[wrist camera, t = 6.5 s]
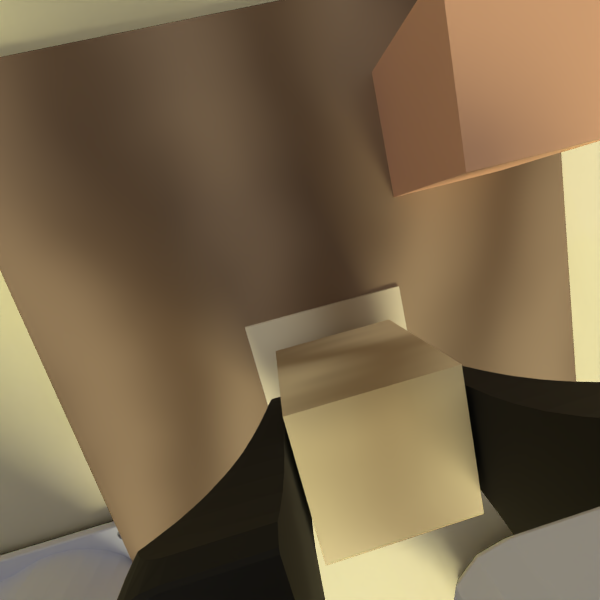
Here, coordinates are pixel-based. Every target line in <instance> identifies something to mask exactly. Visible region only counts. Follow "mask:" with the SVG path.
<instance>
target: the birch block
mask: <svg viewBox="0 0 600 600" xmlns="http://www.w3.org/2000/svg"><path fill="white" fill-rule="evenodd" d="M276 360H277V369H278V378H279V387H280V396H281V405H282V415H283V419H284V423H285V426H286V430H287V433H288V437H289V440H290V444H291V447H292V450H293V454H294V457H295V461H296V464H297V468H298V471H299V475H300V478H301V481H302V485H303V488H304V492H305V495H306V499H307V502H308V506H309V509H310V512H311V516H312V519H313V523H314V526H315V530H316V533H317V537H318V540H319V544H320V547H321V550H322V554H323V557H324V561H325V564H326V565H329V564H333V563H336V562H339V561H342V560H345V559H348V558H351V557H354V556H357V555H360V554H363V553H366V552H369V551H372V550H375V549H378V548H381V547H384V546H387V545H391V544H394V543H397V542H400V541H403V540H406V539H409V538H412V537H415V536H418V535H421V534H424V533H427V532H430V531H433V530H436V529H439V528H442V527H445V526H448V525H452V524H455V523H458V522H461V521H464V520H467V519H470V518H473V517H476V516H479V515H482V514H484V511H483V504H482V497H481V490H480V484H479V477H478V470H477V464H476V457H475V450H474V444H473V437H472V430H471V423H470V417H469V410H468V403H467V397H466V390H465V383H464V377H463V370H462V364H460V363H459V362H457V361H455V360H454V359H452V358H451V357H449V356H447V355H446V354H444V353H442V352H441V351H439V350H438V349H436V348H434V347H433V346H431V345H429V344H428V343H426V342H425V341H423V340H421V339H420V338H418V337H417V336H415V335H413V334H412V333H410V332H408V331H407V330H405V329H404V328H402V327H400V326H399V325H397V324H396V323H394V322H392V321H391V320H385V321H382V322H378V323H374V324H371V325H367V326H364V327H360V328H357V329H353V330H349V331H346V332H342V333H339V334H335V335H331V336H328V337H324V338H321V339H317V340H313V341H310V342H306V343H303V344H299V345H295V346H292V347H288V348H285V349H281V350H278V351H276Z"/></svg>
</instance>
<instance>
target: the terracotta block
mask: <svg viewBox="0 0 600 600" xmlns="http://www.w3.org/2000/svg"><path fill="white" fill-rule="evenodd" d="M372 77H373V82H374V88H375V94H376V99H377V105H378V111H379V117H380V122H381V128H382V134H383V139H384V145H385V151H386V156H387V162H388V168H389V173H390V179H391V185H392V190H393V196H394V197H398V196H402V195H405V194H409V193H413V192H417V191H421V190H425V189H429V188H433V187H437V186H441V185H445V184H449V183H453V182H457V181H461V180H465V179H469V178H473V177H477V176H481V175H485V174H489V173H493V172H497V171H501V170H504V169H507V168H511V167H514V166H517V165H521V164H524V163H527V162H531V161H534V160H537V159H541V158H544V157H547V156H550V155H554V154H557V153H560V152H564V151H567V150H570V149H574V148H577V147H580V146H584V145H587V144H590V143H594V142H597V141H600V0H417V1H416V3H415V5H414V6H413V8H412V9H411V11H410V12H409V14H408V16H407V17H406V19H405V20H404V22H403V23H402V25H401V27H400V28H399V30H398V31H397V33H396V35H395V36H394V38H393V39H392V41H391V42H390V44H389V46H388V47H387V49H386V50H385V52H384V53H383V55H382V57H381V58H380V60H379V61H378V63H377V64H376V66H375V68H374V69H373V71H372Z"/></svg>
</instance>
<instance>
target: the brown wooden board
mask: <svg viewBox="0 0 600 600" xmlns="http://www.w3.org/2000/svg"><path fill="white" fill-rule="evenodd" d="M416 1H417V0H279V1H274V2H269V3H264V4H260V5H255V6H250V7H245V8H240V9H235V10H230V11H225V12H220V13H215V14H210V15H205V16H201V17H196V18H191V19H186V20H181V21H176V22H171V23H166V24H161V25H156V26H151V27H146V28H141V29H137V30H132V31H127V32H122V33H117V34H112V35H107V36H102V37H97V38H92V39H87V40H82V41H77V42H73V43H68V44H63V45H58V46H53V47H48V48H43V49H38V50H33V51H28V52H23V53H18V54H13V55H9V56H4V57H0V271H1V273H2V275H3V277H4V279H5V282H6V284H7V286H8V288H9V291H10V293H11V295H12V297H13V299H14V302H15V304H16V306H17V308H18V310H19V313H20V315H21V317H22V319H23V321H24V324H25V326H26V328H27V330H28V333H29V335H30V337H31V339H32V341H33V344H34V346H35V348H36V350H37V352H38V355H39V357H40V359H41V361H42V364H43V366H44V368H45V370H46V372H47V375H48V377H49V379H50V381H51V383H52V386H53V388H54V390H55V392H56V394H57V397H58V399H59V401H60V403H61V406H62V408H63V410H64V412H65V414H66V417H67V419H68V421H69V423H70V425H71V428H72V430H73V432H74V434H75V437H76V439H77V441H78V443H79V445H80V448H81V450H82V452H83V454H84V456H85V459H86V461H87V463H88V465H89V467H90V470H91V472H92V474H93V476H94V479H95V481H96V483H97V485H98V487H99V490H100V492H101V494H102V496H103V498H104V501H105V503H106V505H107V507H108V509H109V512H110V514H111V516H112V518H113V521H114V523H115V525H116V527H117V529H118V532H119V534H120V536H121V538H122V540H123V543H124V545H125V547H126V549H127V552H128V554H129V556H130V558H131V560H132V563H133V560H134V558H135V556H136V554H137V552H138V551H139V550H140V549H142V548H143V547H145V546H146V545H147V544H149V543H150V542H151V541H153V540H154V539H155V538H156V537H158V536H159V535H160V534H162V533H163V532H164V531H166V530H167V529H168V528H169V527H171V526H172V525H173V524H175V523H176V522H177V521H178V520H179V519H181V518H182V517H183V516H184V515H185V514H186V513H187V512H189V511H190V510H191V509H192V508H193V507H194V506H195V505H196V504H197V503H198V502H200V501H201V500H202V499H203V498H204V497H205V496H206V495H207V494H208V493H209V492H210V491H211V490H212V489H213V487H214V486H215V485H216V484H217V483H218V482H219V481H220V480H221V479H222V478H223V477H224V476H225V474H226V473H227V472H228V471H229V470H230V469H231V467H232V466H233V465H234V463H235V462H236V461H237V460H238V458H239V457H240V456H241V454H242V453H243V451H244V450H245V448H246V447H247V445H248V443H249V442H250V440H251V438H252V437H253V435H254V433H255V431H256V430H257V428H258V426H259V424H260V422H261V420H262V418H263V416H264V414H265V412H266V409H267V407H268V405H269V403H270V401H271V399H274V398H277V397H281V396H280V387H279V378H278V369H277V360H276V351H278V350H281V349H285V348H288V347H292V346H295V345H299V344H303V343H306V342H310V341H313V340H317V339H321V338H324V337H328V336H331V335H335V334H339V333H342V332H346V331H349V330H353V329H357V328H360V327H364V326H367V325H371V324H374V323H378V322H382V321H385V320H391V321H392V322H394V323H396V324H397V325H399V326H400V327H402V328H404V329H405V330H407V331H408V332H410V333H412V334H413V335H415V336H417V337H418V338H420V339H421V340H423V341H425V342H426V343H428V344H429V345H431V346H433V347H434V348H436V349H438V350H439V351H441V352H442V353H444V354H446V355H447V356H449V357H451V358H452V359H454V360H455V361H457V362H459V363H460V364H462V366H466V367H470V368H474V369H479V370H484V371H489V372H494V373H499V374H505V375H511V376H518V377H526V378H534V379H544V380H556V381H574V382H576V374H575V358H574V343H573V328H572V313H571V298H570V282H569V267H568V252H567V237H566V222H565V207H564V191H563V176H562V161H561V152H560V153H557V154H554V155H550V156H547V157H544V158H541V159H537V160H534V161H531V162H527V163H524V164H521V165H517V166H514V167H511V168H507V169H504V170H501V171H497V172H493V173H489V174H485V175H481V176H477V177H473V178H469V179H465V180H461V181H457V182H453V183H449V184H445V185H441V186H437V187H433V188H429V189H425V190H421V191H417V192H413V193H409V194H405V195H402V196H398V197H394V196H393V190H392V185H391V179H390V173H389V168H388V162H387V156H386V151H385V145H384V139H383V134H382V128H381V122H380V117H379V111H378V105H377V99H376V94H375V88H374V82H373V77H372V71H373V69H374V68H375V66H376V64H377V63H378V61H379V60H380V58H381V57H382V55H383V53H384V52H385V50H386V49H387V47H388V46H389V44H390V42H391V41H392V39H393V38H394V36H395V35H396V33H397V31H398V30H399V28H400V27H401V25H402V23H403V22H404V20H405V19H406V17H407V16H408V14H409V12H410V11H411V9H412V8H413V6H414V5H415V3H416Z"/></svg>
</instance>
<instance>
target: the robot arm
mask: <svg viewBox="0 0 600 600" xmlns="http://www.w3.org/2000/svg"><path fill="white" fill-rule="evenodd" d="M462 370H463V377H464V383H465V390H466V397H467V403H468V410H469V417H470V423H471V430H472V437H473V444H474V450H475V457H476V464H477V470H478V477H479V484H480V490H481V491H482V492H483V493H484V494H485V496H486V497H487V498H488V500H489V501H490V503H491V504H492V505H493V507H494V508H495V509H496V511H497V512H498V513H499V515H500V516H501V517H502V519H503V520H504V521H505V523H506V524H507V525H508V527H509V528H510V530H511V531H512V533H513V534H514V535H513V536H510V537H507V538H504V539H503V540H501V541H499V542H498V543H496V544H494V545H492V546H491V547H489V548H487V549H486V550H484V551H482V552H480V553H479V554H477V555H476V556H475V557H474V559H473V560H472V562H471V563H470V564H469V566H468V567H467V568H466V570H465V571H464V572H463V574H462V575H461V577H460V578H459V579H458V581H457V585H456V590H455V597H454V600H600V382H574V381H556V380H544V379H534V378H526V377H518V376H511V375H505V374H499V373H494V372H489V371H484V370H479V369H474V368H470V367H466V366H462ZM0 600H325V597H324V592H323V586H322V581H321V576H320V570H319V565H318V560H317V554H316V549H315V542H314V535H313V526H312V516H311V512H310V509H309V506H308V502H307V499H306V495H305V492H304V488H303V485H302V481H301V478H300V475H299V471H298V468H297V464H296V461H295V457H294V454H293V450H292V447H291V444H290V440H289V437H288V433H287V430H286V426H285V423H284V419H283V415H282V405H281V397H277V398H274V399H271V401H270V403H269V405H268V407H267V409H266V412H265V414H264V416H263V418H262V420H261V422H260V424H259V426H258V428H257V430H256V431H255V433H254V435H253V437H252V438H251V440H250V442H249V443H248V445H247V447H246V448H245V450H244V451H243V453H242V454H241V456H240V457H239V458H238V460H237V461H236V462H235V463H234V465H233V466H232V467H231V469H230V470H229V471H228V472H227V473H226V474H225V476H224V477H223V478H222V479H221V480H220V481H219V482H218V483H217V484H216V485H215V486H214V487H213V489H212V490H211V491H210V492H209V493H208V494H207V495H206V496H205V497H204V498H203V499H202V500H201V501H200V502H198V503H197V504H196V505H195V506H194V507H193V508H192V509H191V510H190V511H189V512H187V513H186V514H185V515H184V516H183V517H182V518H181V519H179V520H178V521H177V522H176V523H175V524H173V525H172V526H171V527H169V528H168V529H167V530H166V531H164V532H163V533H162V534H160V535H159V536H158V537H156V538H155V539H154V540H153V541H151V542H150V543H149V544H147V545H146V546H145V547H143V548H142V549H140V550H139V551H138V552H137V554H136V556H135V558H134V560H133V563H132V560H131V558H130V556H129V554H128V552H127V549H126V547H125V545H124V543H123V540H122V538H121V536H120V534H119V532H118V529H117V527H116V525H115V523H114V521H112V522H109V523H106V524H103V525H99V526H96V527H93V528H89V529H86V530H83V531H79V532H76V533H73V534H70V535H66V536H63V537H60V538H56V539H53V540H50V541H46V542H43V543H40V544H37V545H33V546H30V547H27V548H23V549H20V550H17V551H13V552H10V553H7V554H4V555H0Z"/></svg>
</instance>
